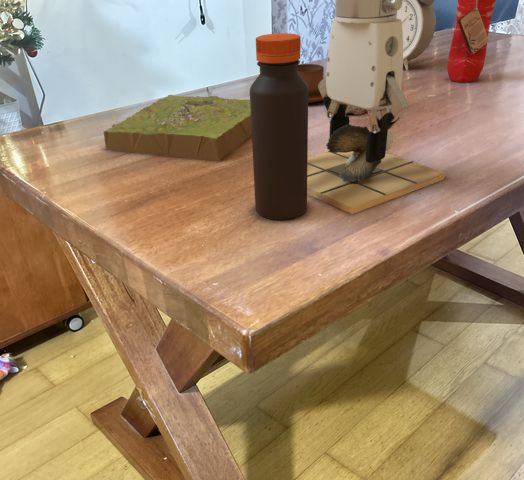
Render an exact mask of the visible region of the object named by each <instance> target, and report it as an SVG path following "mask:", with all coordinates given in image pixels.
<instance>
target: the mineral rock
mask: <svg viewBox="0 0 524 480" xmlns="http://www.w3.org/2000/svg"><path fill="white" fill-rule="evenodd" d="M365 113H368V112H367V110H365V109H361V108H357V107H353V106H349V109H348V111H347V114H353V115H355V116H356V115H362V114H365Z"/></svg>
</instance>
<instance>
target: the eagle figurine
mask: <svg viewBox="0 0 524 480" xmlns="http://www.w3.org/2000/svg"><path fill="white" fill-rule="evenodd" d="M368 132H371V131H370V130H369V128H368V127H367V126H364V127H363V126H359V125H352V124H350V123H349V125H345V126H343V127H340V128H339V129H337V130H336V131H334V133H333V134H332V135H331V137H330V138H328V139H327V143H326V149H327V150H328V151H329V152H331V153H338V152H340V153H342V152H343V153H347V152H351V151H353V154H352V155H351V156H350V158H349V159H348V160H347V161H346V166H345V167H347V166H349V167H348V168H347V169H346V170H345V171H343V172H342V173H341V174H340V175H339V176H341V179H343V181H346V182H350V181H356V180H358V181H360V180H361V179H362V180H364V179H366V178H367V177H369V176H370V175H371V174H372V173H373V171H374V170H375V167H377V166H378V164H380V163H381V160H382V159H380V160H377V161H374V162H371V163H369V162H367V161H366V148H367V135H368ZM393 143H394V135H393V134H392V132H391V131H390V130H388V133H387V143H386V152H388V151H389V150H390V149H391V147H392V145H393Z"/></svg>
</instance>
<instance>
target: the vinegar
mask: <svg viewBox="0 0 524 480" xmlns="http://www.w3.org/2000/svg"><path fill="white" fill-rule="evenodd" d="M301 37H302V36H301V35H299V34H296V33H290V32H289V33H285V32H284V33H281V32H280V33H277V32H276V33H267V34H262V35H259V36H257V37H256V38H255V59H256V61H257V63H256V65H257V66H258V67H259V73H258V76H257V77H256V79H254V81H253V82H252V84H251V85H250V88H249V100H250V109H251V129H252V135H251V144H252V147H251V148H252V167H253V186H254V187H253V188H254V189H253V190H254V208H255V211H256V213H257V214H258V215H259V216H261V217H262V218H264V219H267V220H273V221H288V220H293V219H296V218H299V217H300V216H302V215H304V214H305V213H306V211H307V209H308V194H307V158H309V157H308V153H309V152H308V149H309V146H308V144H309V143H308V142H309V103H308V84H307V83H306V82H305V81H304V79H303V78H302V77H301V76H300V75H299V73H298V72H297V65H300V64H301V60H300V59H301V47H302V45H301Z"/></svg>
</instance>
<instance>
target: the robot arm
mask: <svg viewBox="0 0 524 480" xmlns="http://www.w3.org/2000/svg"><path fill="white" fill-rule="evenodd" d="M334 1H335V2H334V3H335V4H334V17H333V18H332V23H331V28H330V33H329V34H330V35H329V40H328V47H327V57H326V71H325V72H326V73H325V75H324V76H323V79H322V80H321V82H320V83H319V84H318V89H319V91H320V93H321V96H322V98H323V100H322V103H323V105H324V107H325V109H326V111H327V112H326V117H327V119H328V120H329V136H328V137H329V138H330V137H331V135H332V134H333V133H334V131H336V130H337V129H339V128H340V127H343V126H345V125H349V124H350V116H349V115H347V114H348V113H347V111H348V109H349V106H353V107H357V108H361V109H365V110H367V112H366V113H367V116H368V120H369V125H370V129H371V131H370V132H368V135H367V148H366V161H367V162H369V163H371V162H374V161H377V160H380V159H383V158H384V157H385V154H386V153H387V151H386V143H387V133H388V131H390V130H391V129H392V128H393V127H394V125H395V124H396V123H397V122H398V121H399V120H400V117H401V116H402V115H403V114H404V113H406V111H407V110H408V109H409V106H410V105H409V102H408V100H407V98H406V96H405V94H404V93H403V91H402V87H403V72H404V63H403V32H402V23H401V19H396V17H397V10H399V9H400V8H401V6H402V0H334ZM390 106H391V107H390ZM378 112H380V117H381V118H379V113H378ZM329 138H328V139H329Z"/></svg>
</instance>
